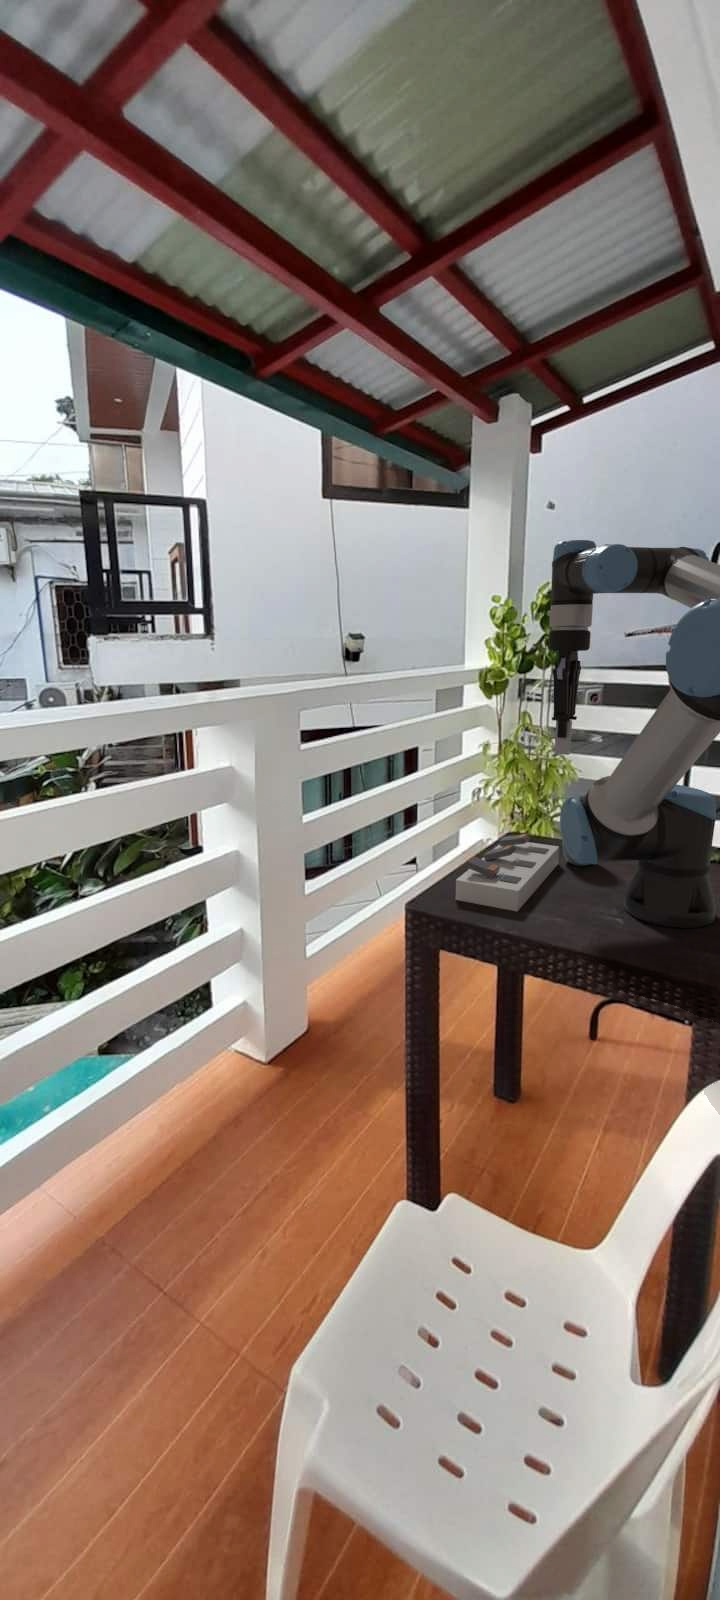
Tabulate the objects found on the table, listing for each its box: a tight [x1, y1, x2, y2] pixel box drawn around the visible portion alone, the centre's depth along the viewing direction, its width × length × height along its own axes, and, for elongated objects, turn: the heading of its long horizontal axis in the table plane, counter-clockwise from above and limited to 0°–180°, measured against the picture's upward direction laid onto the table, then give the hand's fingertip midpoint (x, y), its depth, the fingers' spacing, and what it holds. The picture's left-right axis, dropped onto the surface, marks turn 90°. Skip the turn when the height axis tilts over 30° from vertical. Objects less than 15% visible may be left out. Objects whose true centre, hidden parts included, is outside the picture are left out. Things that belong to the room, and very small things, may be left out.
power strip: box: [455, 841, 560, 912], centre depth 146 cm, size 12×39×4 cm, turn 151°
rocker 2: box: [483, 845, 516, 861], centre depth 143 cm, size 6×4×1 cm, turn 60°
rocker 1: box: [465, 855, 500, 878], centre depth 134 cm, size 6×4×1 cm, turn 61°
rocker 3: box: [498, 833, 531, 846], centre depth 151 cm, size 6×4×1 cm, turn 60°
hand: (562, 753), depth 136 cm, fingers closed
